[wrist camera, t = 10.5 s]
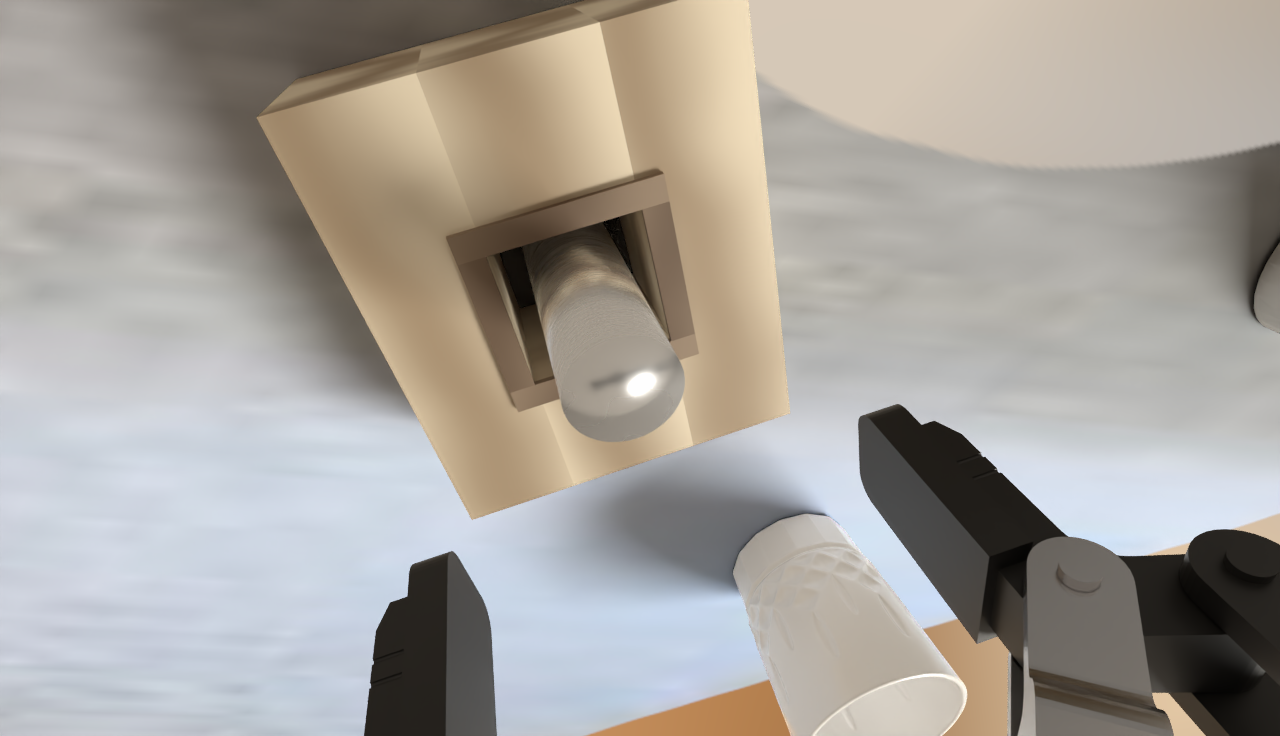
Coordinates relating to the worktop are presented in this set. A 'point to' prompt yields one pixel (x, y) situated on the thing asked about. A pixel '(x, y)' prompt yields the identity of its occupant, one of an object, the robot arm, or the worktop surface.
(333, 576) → the worktop surface
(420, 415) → the wooden peg hole block
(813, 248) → the worktop surface
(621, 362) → the steel pin
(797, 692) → the white cup
